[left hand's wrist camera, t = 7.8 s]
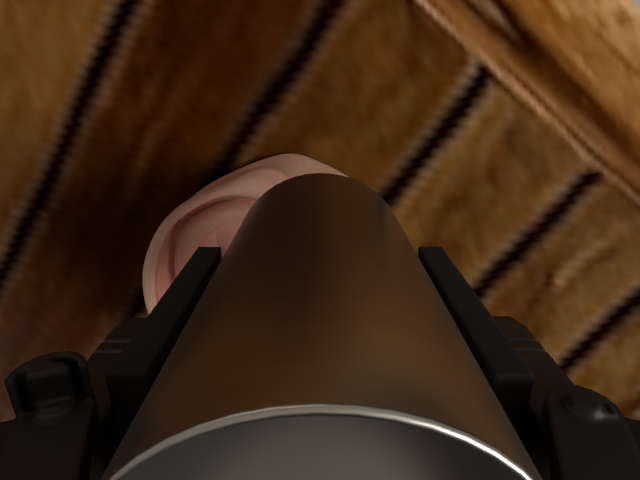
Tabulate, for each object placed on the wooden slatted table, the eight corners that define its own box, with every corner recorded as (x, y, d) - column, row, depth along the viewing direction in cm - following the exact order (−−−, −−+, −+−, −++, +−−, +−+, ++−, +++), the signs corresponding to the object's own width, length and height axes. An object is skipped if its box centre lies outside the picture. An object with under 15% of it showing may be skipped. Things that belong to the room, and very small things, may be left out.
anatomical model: (411, 179, 20) (374, 377, 24) (396, 164, 23) (367, 337, 27) (127, 150, 19) (139, 357, 23) (158, 138, 23) (164, 319, 27)
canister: (300, 136, 15) (243, 296, 4) (437, 237, 16) (688, 570, 5) (206, 270, 17) (-13, 638, 6) (336, 351, 18) (362, 772, 7)
